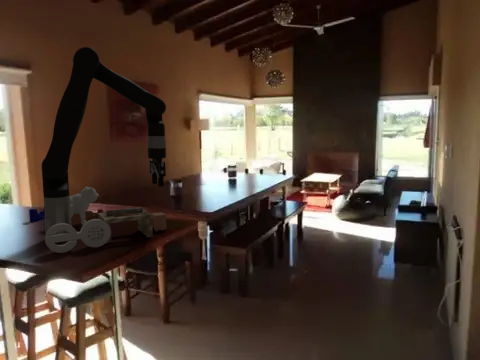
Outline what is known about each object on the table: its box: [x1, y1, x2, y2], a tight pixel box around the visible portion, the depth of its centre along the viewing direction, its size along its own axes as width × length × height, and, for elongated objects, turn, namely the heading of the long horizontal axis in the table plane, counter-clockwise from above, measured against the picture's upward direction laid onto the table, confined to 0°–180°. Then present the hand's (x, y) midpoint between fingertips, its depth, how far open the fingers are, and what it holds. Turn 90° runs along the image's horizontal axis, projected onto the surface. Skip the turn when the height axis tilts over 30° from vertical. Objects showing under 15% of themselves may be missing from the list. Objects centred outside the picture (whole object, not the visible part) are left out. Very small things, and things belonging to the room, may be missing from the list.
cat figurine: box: [42, 186, 101, 227], centre depth 182 cm, size 25×10×17 cm, turn 129°
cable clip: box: [28, 208, 45, 223], centre depth 196 cm, size 12×4×6 cm, turn 169°
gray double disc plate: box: [44, 218, 112, 254], centre depth 147 cm, size 22×2×10 cm, turn 123°
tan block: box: [150, 211, 167, 232], centre depth 175 cm, size 5×6×7 cm
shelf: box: [97, 206, 154, 244], centre depth 164 cm, size 18×14×11 cm
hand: (157, 185), depth 174 cm, fingers open, 8 cm apart
